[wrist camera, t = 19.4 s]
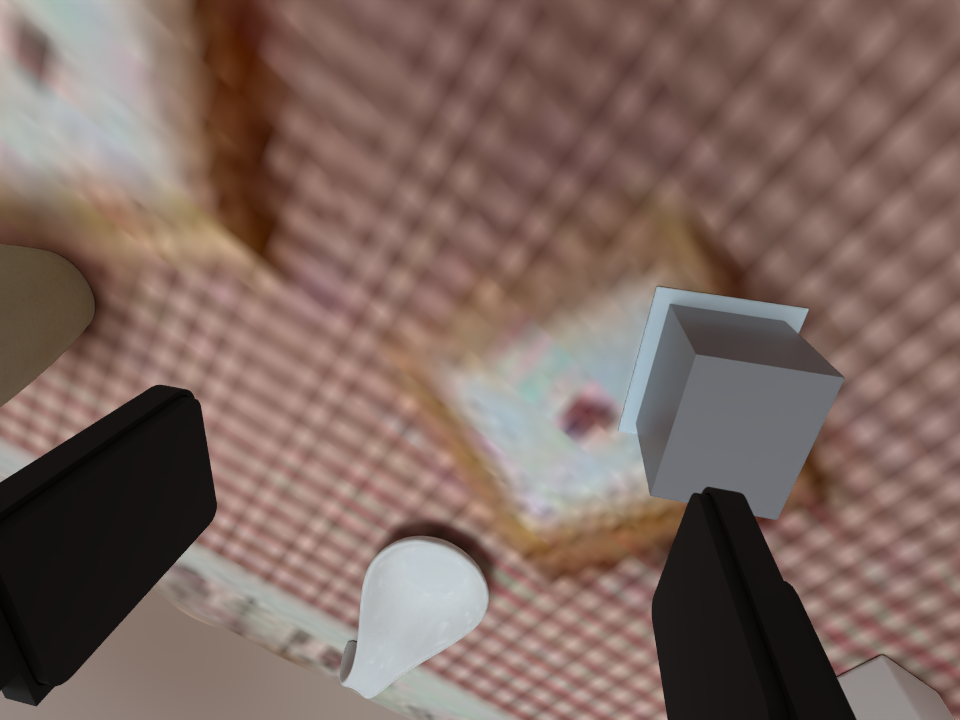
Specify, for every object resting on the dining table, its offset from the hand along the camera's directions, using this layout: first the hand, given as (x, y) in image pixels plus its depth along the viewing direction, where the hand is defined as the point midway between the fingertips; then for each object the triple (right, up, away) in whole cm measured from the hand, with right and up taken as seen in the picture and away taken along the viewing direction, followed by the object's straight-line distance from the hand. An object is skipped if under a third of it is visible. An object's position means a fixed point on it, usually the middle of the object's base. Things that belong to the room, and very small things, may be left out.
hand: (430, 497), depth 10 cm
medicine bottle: (+38, -28, +38) cm, 61 cm away
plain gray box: (+18, +1, +28) cm, 33 cm away
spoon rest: (-6, -22, +44) cm, 49 cm away
